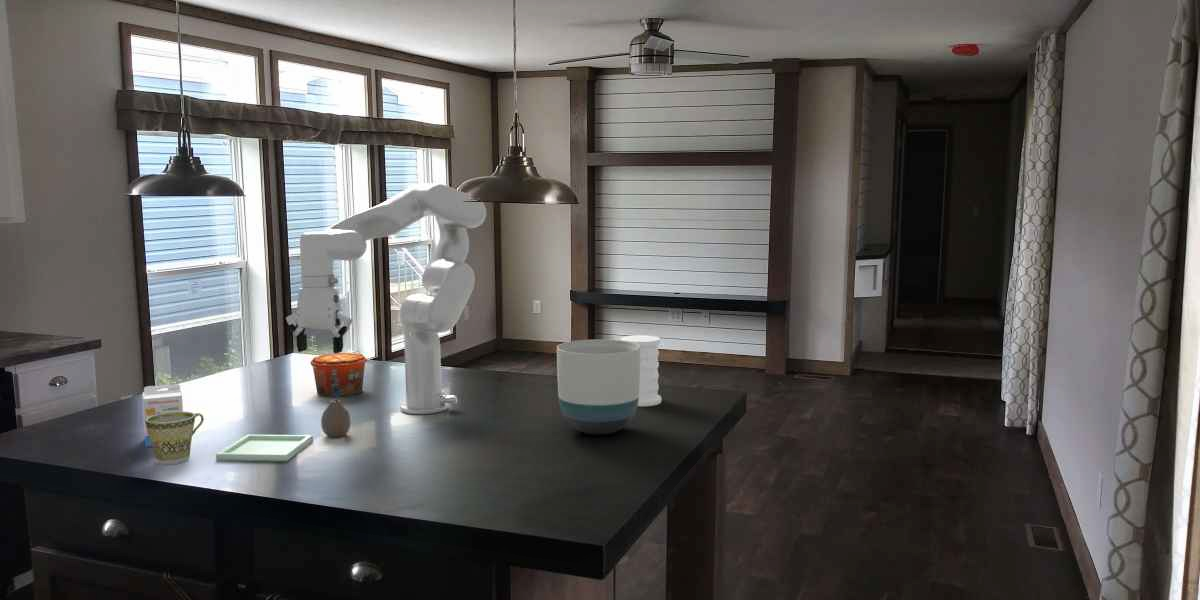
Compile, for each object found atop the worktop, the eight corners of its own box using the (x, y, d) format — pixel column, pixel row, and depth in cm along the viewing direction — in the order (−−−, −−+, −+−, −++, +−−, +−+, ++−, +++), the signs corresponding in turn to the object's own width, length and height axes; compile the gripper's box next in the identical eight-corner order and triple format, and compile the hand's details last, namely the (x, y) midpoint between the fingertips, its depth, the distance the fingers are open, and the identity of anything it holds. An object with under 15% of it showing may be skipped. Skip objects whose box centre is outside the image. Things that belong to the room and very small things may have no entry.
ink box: (145, 447, 213) (141, 391, 211) (144, 439, 220) (140, 385, 219) (185, 442, 217) (182, 388, 215) (183, 434, 224) (180, 381, 223)
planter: (599, 416, 239) (599, 336, 236) (657, 431, 225) (657, 346, 222) (540, 431, 225) (539, 346, 222) (598, 448, 210) (597, 357, 208)
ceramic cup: (165, 470, 196) (162, 425, 195) (138, 462, 201) (135, 418, 200) (218, 454, 207) (216, 412, 206) (192, 448, 212) (189, 406, 211)
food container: (379, 390, 271) (378, 355, 270) (337, 401, 258) (336, 364, 256) (342, 384, 280) (340, 350, 278) (300, 394, 266) (298, 358, 265)
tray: (313, 441, 218) (312, 435, 217) (286, 461, 202) (286, 454, 202) (247, 440, 219) (247, 434, 218) (216, 460, 203) (215, 454, 202)
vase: (333, 441, 218) (331, 405, 216) (316, 436, 222) (314, 401, 221) (357, 435, 223) (355, 400, 222) (339, 430, 227) (338, 396, 226)
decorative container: (655, 407, 249) (655, 342, 246) (614, 404, 252) (614, 340, 250) (665, 398, 259) (666, 336, 257) (627, 395, 263) (627, 334, 261)
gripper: (357, 281, 223) (359, 350, 225) (294, 280, 227) (296, 347, 229) (342, 285, 216) (344, 355, 218) (277, 283, 220) (280, 352, 222)
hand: (320, 351), depth 224 cm, fingers open, 9 cm apart
